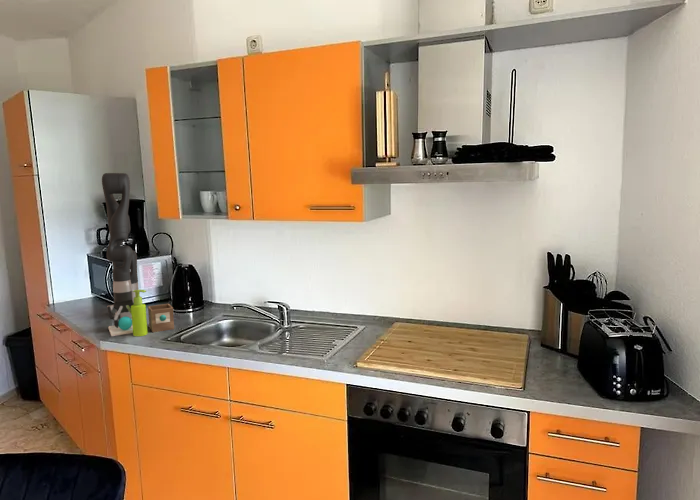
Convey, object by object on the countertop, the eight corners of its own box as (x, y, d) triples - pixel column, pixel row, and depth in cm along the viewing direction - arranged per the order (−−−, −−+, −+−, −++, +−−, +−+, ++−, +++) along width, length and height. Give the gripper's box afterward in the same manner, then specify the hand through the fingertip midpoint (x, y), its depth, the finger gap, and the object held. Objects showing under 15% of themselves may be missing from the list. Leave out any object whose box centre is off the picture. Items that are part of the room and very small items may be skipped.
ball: (117, 328, 227) (116, 316, 226) (131, 326, 230) (130, 314, 229) (119, 332, 222) (118, 319, 221) (133, 330, 225) (132, 317, 224)
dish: (108, 328, 228) (108, 326, 228) (138, 324, 235) (138, 322, 235) (111, 336, 217) (111, 333, 217) (143, 331, 224) (143, 328, 223)
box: (149, 327, 230) (147, 306, 228) (170, 324, 234) (168, 303, 233) (152, 332, 222) (151, 310, 220) (174, 329, 226) (173, 307, 225)
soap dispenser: (144, 336, 215) (141, 291, 213) (130, 336, 217) (126, 291, 214) (152, 332, 221) (149, 288, 218) (138, 332, 223) (135, 288, 220)
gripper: (138, 286, 230) (141, 322, 232) (104, 290, 223) (107, 326, 225) (141, 289, 224) (143, 325, 226) (105, 293, 217) (108, 331, 219)
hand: (125, 326), depth 226 cm, fingers open, 6 cm apart
